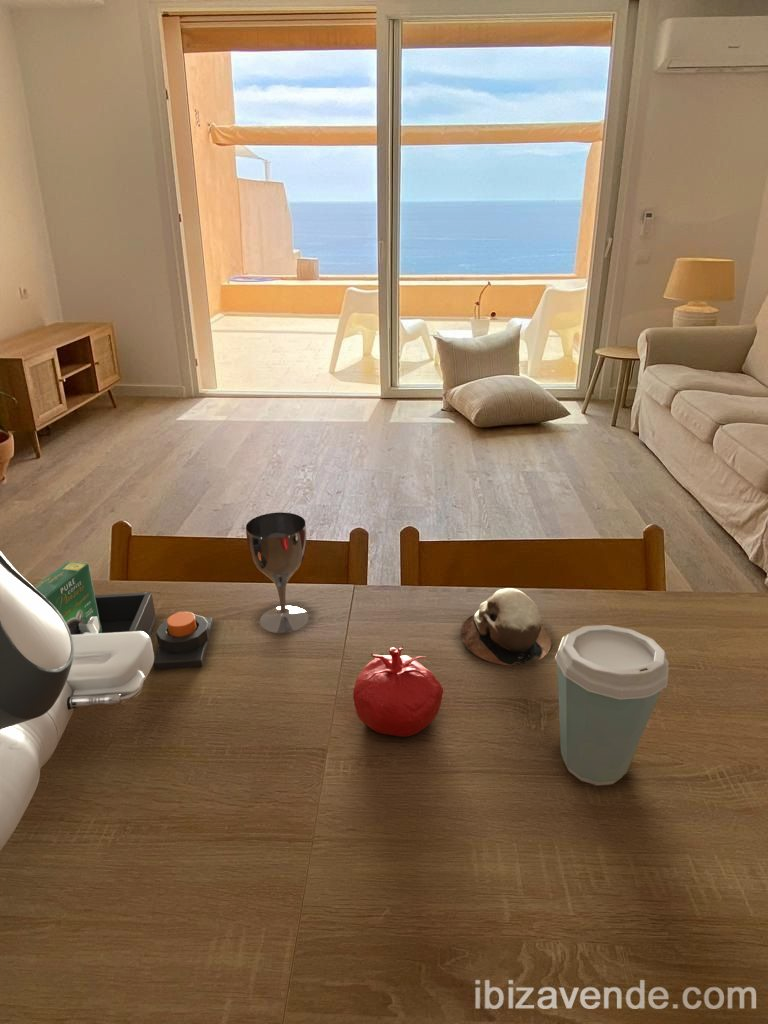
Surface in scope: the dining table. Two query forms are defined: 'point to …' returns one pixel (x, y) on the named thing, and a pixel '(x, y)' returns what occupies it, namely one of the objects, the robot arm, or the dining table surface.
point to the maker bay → (126, 612)
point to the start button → (181, 624)
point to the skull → (506, 629)
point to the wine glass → (279, 563)
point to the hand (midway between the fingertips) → (68, 623)
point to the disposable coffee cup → (606, 698)
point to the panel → (183, 646)
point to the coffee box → (71, 593)
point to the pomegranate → (397, 694)
